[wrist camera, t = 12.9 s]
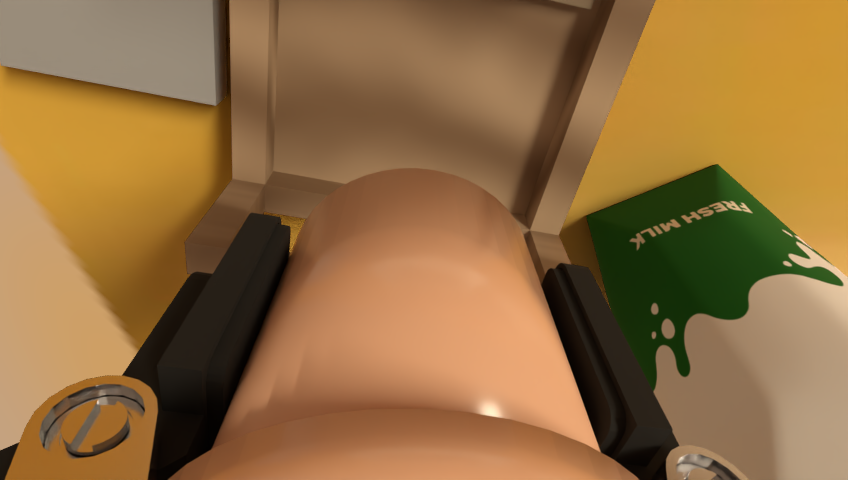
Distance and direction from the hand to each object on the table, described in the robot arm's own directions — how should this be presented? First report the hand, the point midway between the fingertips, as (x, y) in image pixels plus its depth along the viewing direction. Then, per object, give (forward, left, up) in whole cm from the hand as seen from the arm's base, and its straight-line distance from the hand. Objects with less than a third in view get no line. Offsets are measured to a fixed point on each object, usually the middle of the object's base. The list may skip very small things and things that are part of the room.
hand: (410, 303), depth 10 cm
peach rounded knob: (0, 0, -1) cm, 1 cm away
